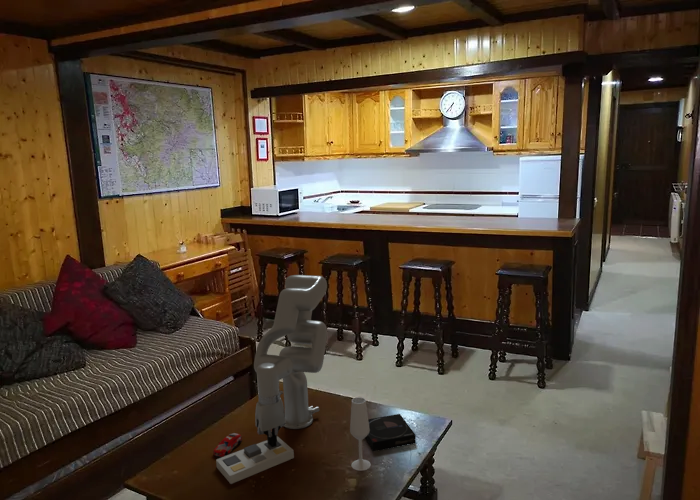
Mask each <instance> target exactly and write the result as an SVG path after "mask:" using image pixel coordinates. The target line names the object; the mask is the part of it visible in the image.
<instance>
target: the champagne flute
mask: <svg viewBox="0 0 700 500" xmlns="http://www.w3.org/2000/svg"><path fill="white" fill-rule="evenodd" d="M368 419H369V415H368V408H367V399H366V398H365V397H360V396H358V397H354V398H352V399H351V408H350V422H349V423H350V425H349V433H350V434H351V436H353V438H355V439H356V440H357V441H358V459H357V460H356V459H355V460H354V461H353V462H352V463H351V467H352V469H353V470H356V471H362V472H363V471H366V470H368V469H370V468H371V466H372V465H371V462H370V461H369V460H368V459H363V458H364V457H363V440H364V439H366V438H365V437H366V436H367V435H368V434H369V431H370V429H369V421H368Z"/></svg>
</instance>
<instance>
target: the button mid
mask: <svg viewBox="0 0 700 500" xmlns="http://www.w3.org/2000/svg"><path fill="white" fill-rule="evenodd" d="M256 444H257V443H254V444H251V445H248V446H246V447H243V449H244V453H245V454H246V455H247V456H248V457H249V458H251V457H253V456H256V455H258V454H261V449H260V448H259V447H258V446H257V445H256Z"/></svg>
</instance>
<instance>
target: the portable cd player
mask: <svg viewBox="0 0 700 500" xmlns="http://www.w3.org/2000/svg"><path fill="white" fill-rule="evenodd" d="M368 421H369V429H370V431H369V434H368V435H367V436H366V437H365V438H364V439H365V440H366V442H367V443H368V445H369V447H370V449H371V450H372V452H379V451H383V449H384V450H387V449H388V448H389V449H394V448H398V447H397V446H400V447H403V446H402V445H405V446H408V445H407V444H410V445H414V444H413V443H417V441H416V440H417V439H416V433H415V432H414V430H413V429H412V428H411V426H409V424H408V422H407V421H406V419H404V417H403V416H402V414H401V413H397V414H390V415H385V416H384V415H383V416H380V417H373V418H368ZM393 447H394V448H393ZM378 450H379V451H378Z"/></svg>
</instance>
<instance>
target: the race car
mask: <svg viewBox="0 0 700 500" xmlns="http://www.w3.org/2000/svg"><path fill="white" fill-rule="evenodd" d="M242 441H243V437H242V435H241V434H240V433H237V432H236V433H235V432H233V433H229V434H228V435H226V436H225V437H224V438H223V439H222V440H221V441H220V442H218V444H217V446H216V447H215V448H213V451H212V452H213V456H214V457H217V458H222V457H224V456H227V455H230V454H231V452H232V451H233V450H234V449H235V448H237V447H238V446H239V445H241V443H242Z"/></svg>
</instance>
